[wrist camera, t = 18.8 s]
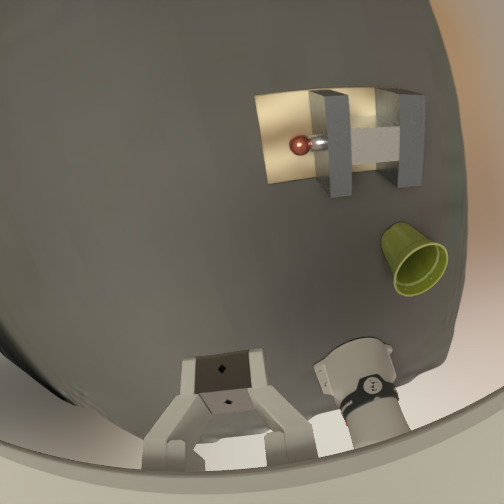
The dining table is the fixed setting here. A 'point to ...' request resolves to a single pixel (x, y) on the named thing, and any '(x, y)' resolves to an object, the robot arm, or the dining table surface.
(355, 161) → the block
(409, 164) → the fixed jaw
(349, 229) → the dining table surface
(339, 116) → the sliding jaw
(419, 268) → the plant pot
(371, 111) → the vise board
